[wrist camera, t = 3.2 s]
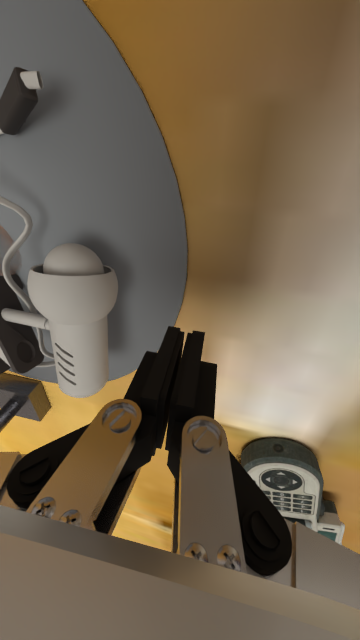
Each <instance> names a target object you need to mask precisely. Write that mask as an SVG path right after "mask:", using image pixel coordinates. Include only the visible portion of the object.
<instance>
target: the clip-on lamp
mask: <svg viewBox="0 0 360 640" xmlns="http://www.w3.org/2000/svg"><path fill="white" fill-rule="evenodd" d="M36 89H43V82H42V77H41V74H40V72H39V71H28V70H25V69H23V68H20V67H14V69H13V71H12V74H11V76H10V78H9V80H8V83H7V85H6V87H5V89H4V92H3V94H2V96H1V98H0V135H1V134H9V135H16V134H17V133H18V131H19V130H20V128H21V127H22V125H23V123H24V122H25V123H26V119H27V117H28V116H29V114H30V113H31V111H32V110H33V109H34V107H35V105H36V104H37V102H38V96H37V92H36ZM0 204H2V205H4V206H6V207H8V208H10V209H12V210H14V211H15V212H17V213H18V214H19V215H20V216H22V217H23V218H24V221H25V224H26V226H25V229H24V231H23V233H22V234H21V235H20V237H19V238H18V239H17V240H16V241H15V242H14V244H13V245H12V246H11V247H10V248H9V250H8V251H7V253H6V254H5V256H4V258H3V263H2V272H3V275H4V276H0V374H1V373H3V372H5V371H7V370H8V369H10V368H11V369H12V370H13V371H14V372H15V373H18V374H23V373H26V372H28V371H29V370H31V369H33V368H34V367H49V366H56V373H57V379H58V385H59V388H60V389H61V391H62V392H63V393H65V394H67V395H69V396H71V397H76V398H84V397H88V396H91V395H93V394H96V393H97V392H98V391H100V390H101V389H102V388H103V387H104V385H105V384H106V382H107V381H108V379H109V368H108V324H107V314H108V313H109V312H110V311H111V310H112V308H113V307H114V304H115V302H116V298H117V294H118V280H117V277H116V274H115V271H114V269H113V268H111V267H109V266H106V265H103V264H102V262H101V260H100V259H99V257H98V256H97V255H96V254H95V253H94V252H93V251H92V250H91V249H89V248H87V247H85V246H83V245H80V244H75V243H67V244H62V245H59V246H57V247H55V248H54V249H52V250H51V251H50V252H49V253H48V254H47V256H46V258H45V261H44V264H39V265H35V266H32V267H31V268H30V271H29V274H28V282H27V286H28V293H29V297H30V299H31V300H30V299H29V297H28V296H27V295H26V294H25V293H24V292H23V291H22V289H23V284H22V282H21V280H20V277H19V276H18V275H17V274H10V271H9V265H10V262H11V259H12V258H13V256H14V254H15V253H16V252H17V250H18V249H19V248H20V247H21V245H22V244H23V243H24V242H25V240H26V239H27V237H28V236H29V234H30V233H31V230H32V226H33V222H32V219H31V216H30V215H29V214H28V213H27V212H26V211H25V210H24V209H23V208H22V207H20V206H19V205H17V204H15V203H13V202H11V201H9V200H7V199H5V198H4V197H1V196H0ZM16 294H17V295H18V296H19V297H20V298H21V299H22V300H23V301H24V303H25V304H26V305H27V307H28V308H29V310H30V312H31V313H29V312H24V310H23V308H22V306H21V303H20V301H19V299H18V297H17V295H16ZM31 301H32V302H31ZM34 306H35V307H34ZM35 308H36V309H37V310H38V311H39V312H40V313H41V314H42V315H39V314H37V311H36V309H35ZM31 326H33V327H36V329H37V334H38V340H37V338H36V336H35V333H34V331H33V329H32V327H31ZM42 329H46V330H50V335H51V341H52V347H53V354H52V353H50V352H48V351H47V350H46V349H45V346H44V340H43V332H42ZM38 341H39V342H38ZM44 355H45V356H46V357H49V358H52V359H54V361H49V362H43V360H44Z"/></svg>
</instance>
